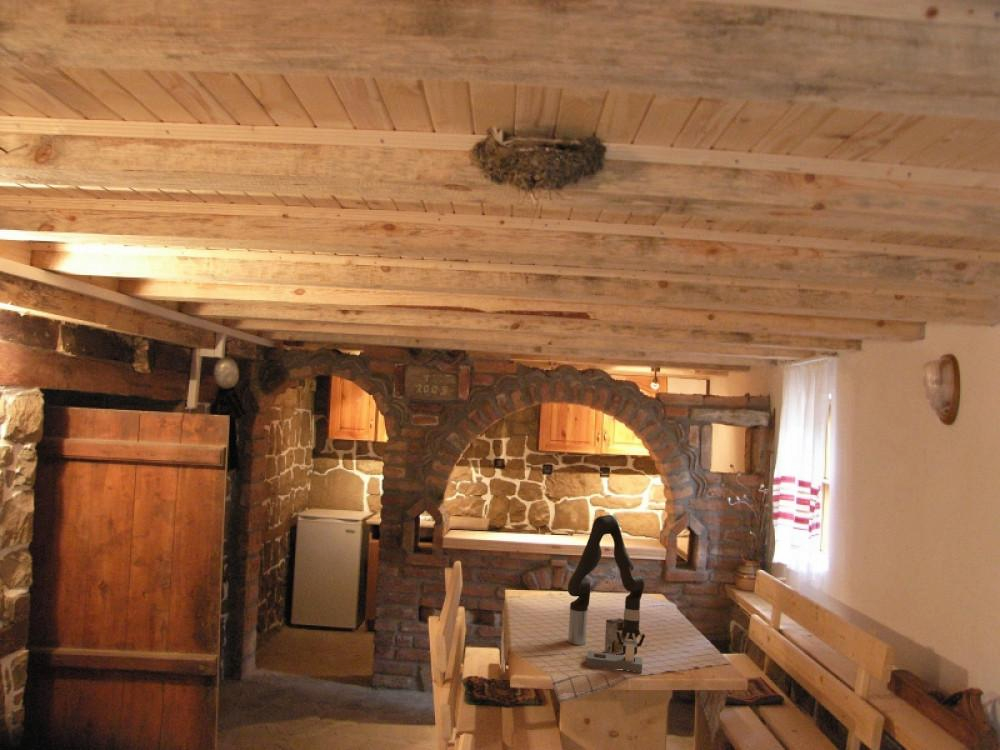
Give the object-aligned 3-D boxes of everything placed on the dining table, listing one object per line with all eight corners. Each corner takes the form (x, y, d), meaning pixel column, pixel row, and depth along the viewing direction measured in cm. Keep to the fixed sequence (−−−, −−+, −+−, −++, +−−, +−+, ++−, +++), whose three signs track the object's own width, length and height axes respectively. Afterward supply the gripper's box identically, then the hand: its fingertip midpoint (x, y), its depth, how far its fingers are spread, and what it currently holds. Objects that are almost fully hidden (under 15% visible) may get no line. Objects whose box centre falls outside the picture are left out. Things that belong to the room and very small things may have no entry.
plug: (624, 662, 365) (626, 639, 366) (633, 663, 365) (634, 640, 365) (624, 664, 361) (626, 641, 362) (633, 665, 361) (634, 642, 361)
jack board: (587, 659, 371) (588, 651, 372) (641, 666, 367) (641, 657, 367) (586, 666, 362) (586, 657, 362) (641, 673, 357) (642, 664, 357)
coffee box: (618, 649, 390) (620, 617, 390) (626, 653, 384) (628, 621, 385) (603, 651, 386) (605, 619, 386) (611, 655, 380) (613, 622, 381)
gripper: (646, 617, 366) (644, 653, 366) (616, 614, 369) (614, 649, 368) (646, 621, 359) (644, 658, 358) (616, 618, 361) (614, 654, 361)
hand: (629, 653), depth 363 cm, fingers closed on plug, 4 cm apart
